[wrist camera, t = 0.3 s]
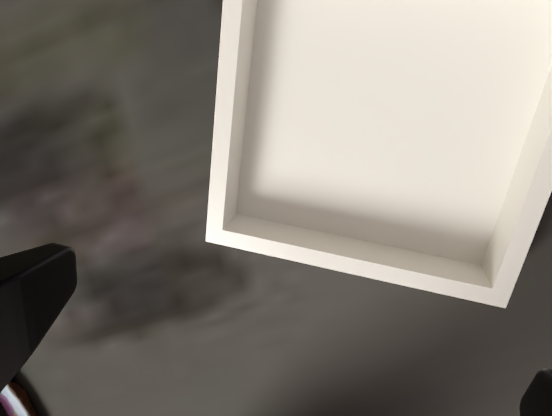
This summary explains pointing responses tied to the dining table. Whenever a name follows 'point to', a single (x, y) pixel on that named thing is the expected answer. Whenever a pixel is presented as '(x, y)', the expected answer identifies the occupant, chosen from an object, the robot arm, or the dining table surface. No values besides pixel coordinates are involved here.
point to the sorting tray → (385, 138)
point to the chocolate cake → (15, 402)
